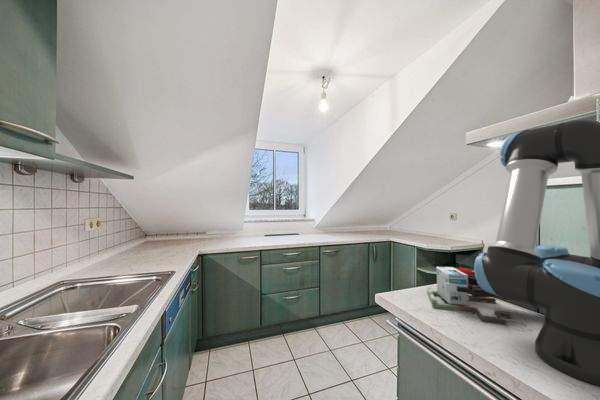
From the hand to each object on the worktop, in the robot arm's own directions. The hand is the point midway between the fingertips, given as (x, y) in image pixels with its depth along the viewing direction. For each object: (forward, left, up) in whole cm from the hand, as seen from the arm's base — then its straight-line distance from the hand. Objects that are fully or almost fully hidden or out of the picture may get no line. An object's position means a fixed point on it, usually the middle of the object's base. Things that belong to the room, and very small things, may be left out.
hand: (442, 281), depth 90 cm
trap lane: (0, -7, -8) cm, 10 cm away
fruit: (+20, -11, -8) cm, 24 cm away
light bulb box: (0, -3, -6) cm, 7 cm away
